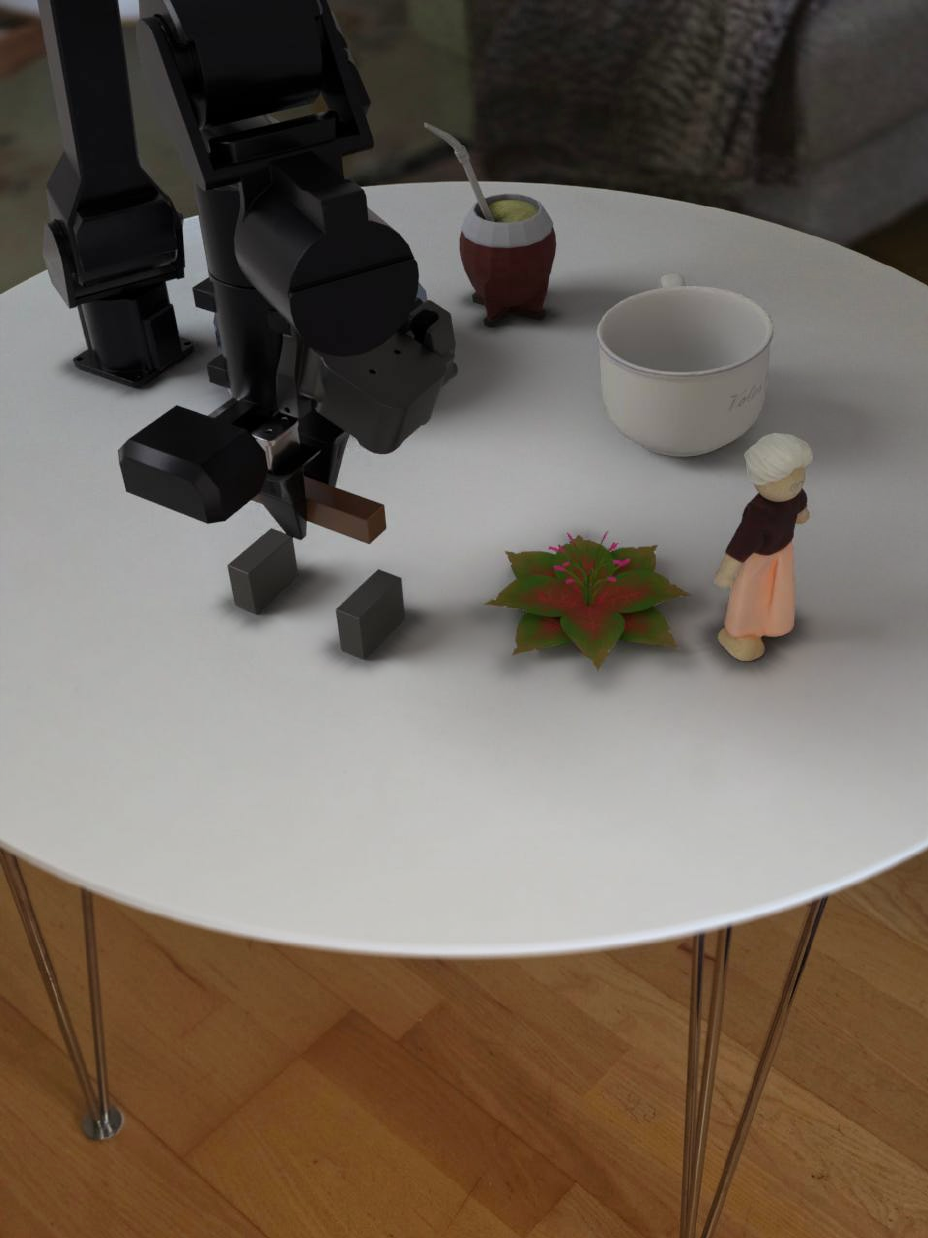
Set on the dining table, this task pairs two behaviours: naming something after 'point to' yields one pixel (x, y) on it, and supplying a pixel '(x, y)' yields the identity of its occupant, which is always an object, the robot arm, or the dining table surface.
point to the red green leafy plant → (588, 597)
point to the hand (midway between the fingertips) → (307, 527)
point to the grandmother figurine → (765, 547)
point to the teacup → (684, 366)
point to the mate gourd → (505, 248)
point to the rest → (357, 617)
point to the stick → (343, 511)
